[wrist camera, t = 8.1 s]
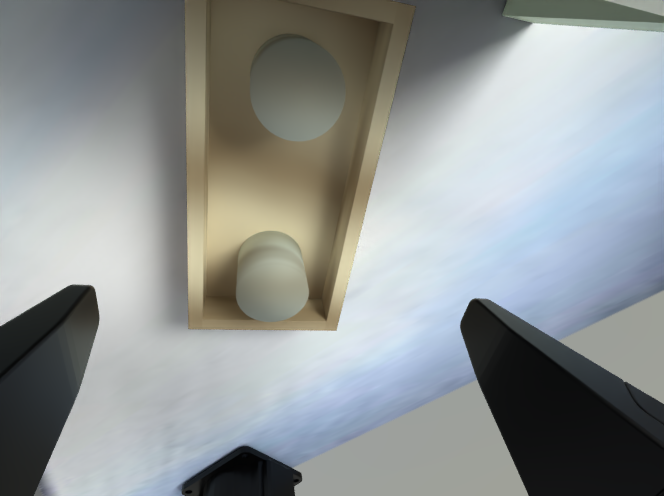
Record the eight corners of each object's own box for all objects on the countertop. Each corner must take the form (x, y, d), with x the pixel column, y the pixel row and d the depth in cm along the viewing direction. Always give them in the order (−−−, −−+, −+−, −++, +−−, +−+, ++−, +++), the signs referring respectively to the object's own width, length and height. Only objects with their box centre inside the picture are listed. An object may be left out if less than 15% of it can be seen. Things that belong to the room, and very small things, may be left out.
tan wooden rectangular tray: (328, 298, 21) (340, 346, 18) (195, 294, 20) (184, 346, 17) (392, 5, 14) (429, 6, 11) (195, -39, 13) (177, -52, 10)
